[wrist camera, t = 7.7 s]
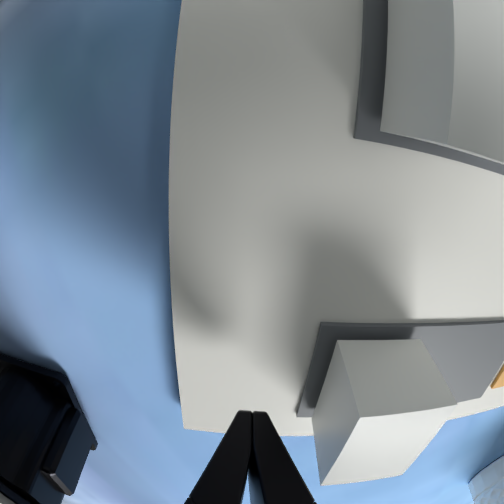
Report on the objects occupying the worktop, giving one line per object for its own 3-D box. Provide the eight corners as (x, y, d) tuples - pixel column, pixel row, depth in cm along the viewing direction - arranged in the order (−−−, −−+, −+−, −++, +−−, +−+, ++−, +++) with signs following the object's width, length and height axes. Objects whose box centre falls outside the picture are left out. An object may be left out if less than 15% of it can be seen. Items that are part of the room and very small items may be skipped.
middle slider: (380, 131, 7) (447, 144, 4) (387, -14, 5) (445, -60, 2) (473, 155, 7) (550, 181, 4) (480, 24, 5) (552, 9, 2)
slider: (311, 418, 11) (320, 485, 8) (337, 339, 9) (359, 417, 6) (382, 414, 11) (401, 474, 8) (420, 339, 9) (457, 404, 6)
